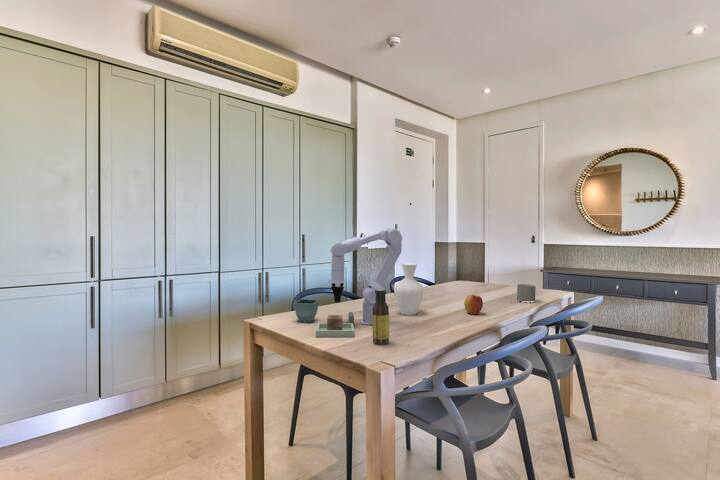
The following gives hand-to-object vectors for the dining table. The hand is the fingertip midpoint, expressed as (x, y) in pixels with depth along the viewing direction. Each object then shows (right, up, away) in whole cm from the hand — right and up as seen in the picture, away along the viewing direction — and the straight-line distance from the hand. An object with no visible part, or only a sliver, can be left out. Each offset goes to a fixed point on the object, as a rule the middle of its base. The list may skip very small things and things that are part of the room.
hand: (337, 300), depth 164 cm
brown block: (0, -10, -14) cm, 17 cm away
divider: (+6, -11, -2) cm, 12 cm away
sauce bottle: (+18, -12, -25) cm, 33 cm away
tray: (0, -11, -14) cm, 17 cm away
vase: (+35, -10, +23) cm, 43 cm away
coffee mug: (+111, -10, +59) cm, 126 cm away
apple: (+68, -11, +24) cm, 72 cm away
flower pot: (-14, -10, +5) cm, 18 cm away
